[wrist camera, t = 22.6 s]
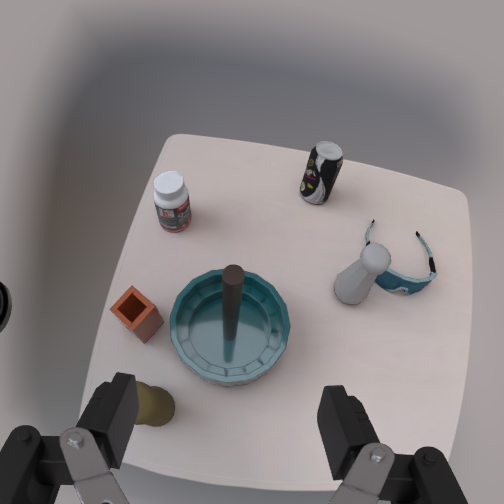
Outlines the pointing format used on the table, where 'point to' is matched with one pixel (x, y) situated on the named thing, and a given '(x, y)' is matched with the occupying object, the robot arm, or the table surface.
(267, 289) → the bowl
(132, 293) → the holder
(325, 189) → the beverage can
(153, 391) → the cork
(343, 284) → the salt shaker
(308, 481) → the table surface
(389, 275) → the sunglasses
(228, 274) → the stick
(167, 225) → the pill bottle
